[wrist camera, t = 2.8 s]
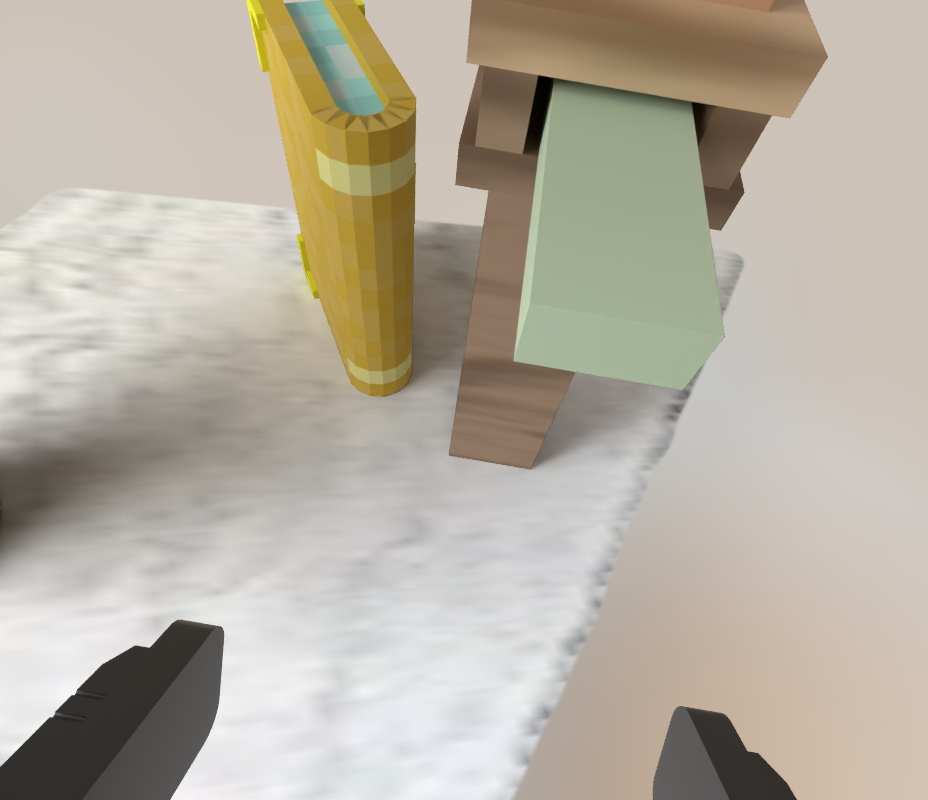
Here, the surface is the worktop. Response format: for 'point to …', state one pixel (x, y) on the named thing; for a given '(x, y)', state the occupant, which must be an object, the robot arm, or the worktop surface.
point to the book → (348, 176)
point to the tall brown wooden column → (518, 140)
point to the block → (618, 240)
